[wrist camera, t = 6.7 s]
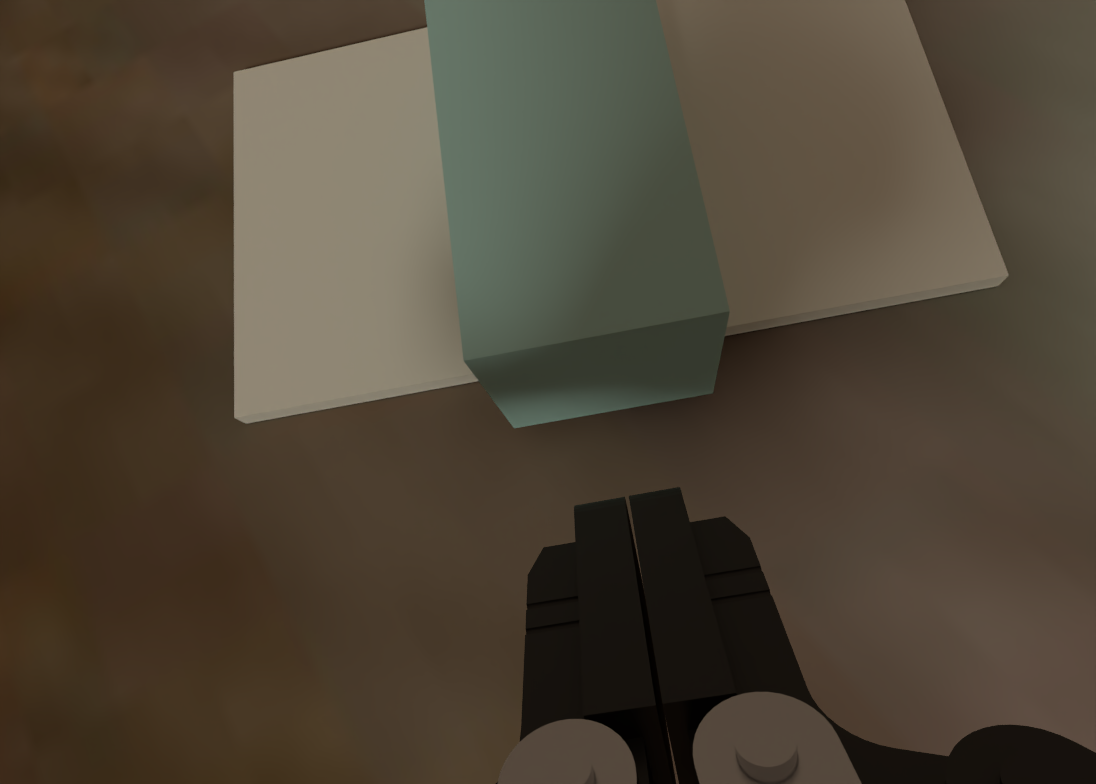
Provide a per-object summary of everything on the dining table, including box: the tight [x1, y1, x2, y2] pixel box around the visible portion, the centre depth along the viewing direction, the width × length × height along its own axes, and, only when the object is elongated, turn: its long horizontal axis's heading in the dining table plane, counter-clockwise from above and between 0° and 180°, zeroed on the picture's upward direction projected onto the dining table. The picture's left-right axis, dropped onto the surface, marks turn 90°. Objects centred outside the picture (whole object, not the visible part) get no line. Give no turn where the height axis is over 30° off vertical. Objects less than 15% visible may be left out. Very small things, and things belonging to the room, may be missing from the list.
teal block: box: [424, 0, 730, 428], centre depth 18 cm, size 5×5×12 cm
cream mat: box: [234, 0, 1009, 424], centre depth 21 cm, size 20×12×1 cm, turn 98°
